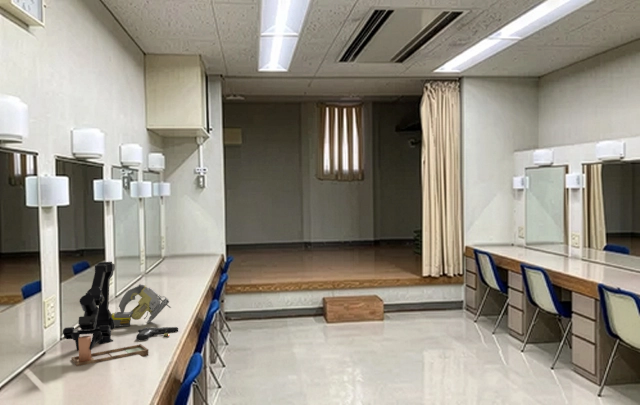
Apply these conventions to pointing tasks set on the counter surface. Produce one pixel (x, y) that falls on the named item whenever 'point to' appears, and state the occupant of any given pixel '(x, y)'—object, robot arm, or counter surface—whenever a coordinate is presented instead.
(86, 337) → the smooth tapered peach-colored object
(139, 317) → the circular saw
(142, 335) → the pistol
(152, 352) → the counter surface
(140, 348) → the box
